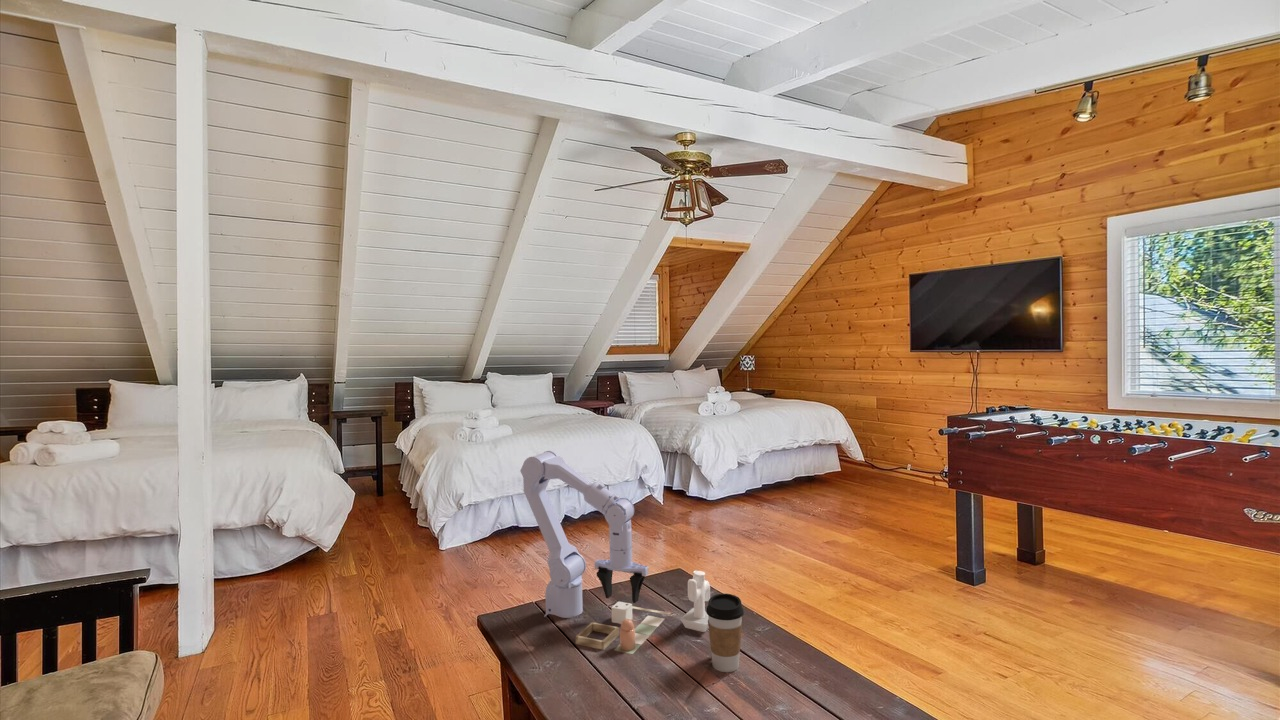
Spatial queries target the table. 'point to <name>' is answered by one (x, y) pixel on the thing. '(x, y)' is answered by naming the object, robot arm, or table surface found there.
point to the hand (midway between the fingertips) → (622, 599)
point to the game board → (614, 632)
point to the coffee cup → (725, 631)
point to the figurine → (697, 603)
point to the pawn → (627, 635)
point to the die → (621, 612)
